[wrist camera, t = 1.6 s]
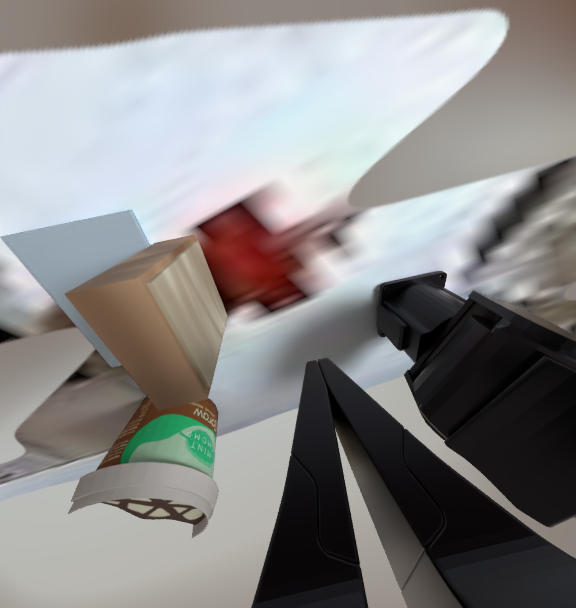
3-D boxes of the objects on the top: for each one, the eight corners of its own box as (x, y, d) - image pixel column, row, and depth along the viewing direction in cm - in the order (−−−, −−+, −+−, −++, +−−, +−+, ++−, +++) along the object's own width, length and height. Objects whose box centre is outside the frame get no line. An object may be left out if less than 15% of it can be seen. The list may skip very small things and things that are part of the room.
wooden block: (197, 234, 16) (142, 277, 9) (229, 317, 20) (211, 398, 13) (156, 242, 16) (64, 293, 9) (196, 324, 20) (158, 410, 13)
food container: (248, 414, 28) (244, 516, 19) (215, 434, 29) (196, 539, 21) (169, 364, 22) (113, 477, 14) (132, 392, 24) (59, 512, 15)
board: (132, 209, 15) (129, 210, 15) (200, 345, 22) (200, 348, 21) (5, 235, 15) (0, 236, 15) (113, 364, 21) (111, 367, 21)
